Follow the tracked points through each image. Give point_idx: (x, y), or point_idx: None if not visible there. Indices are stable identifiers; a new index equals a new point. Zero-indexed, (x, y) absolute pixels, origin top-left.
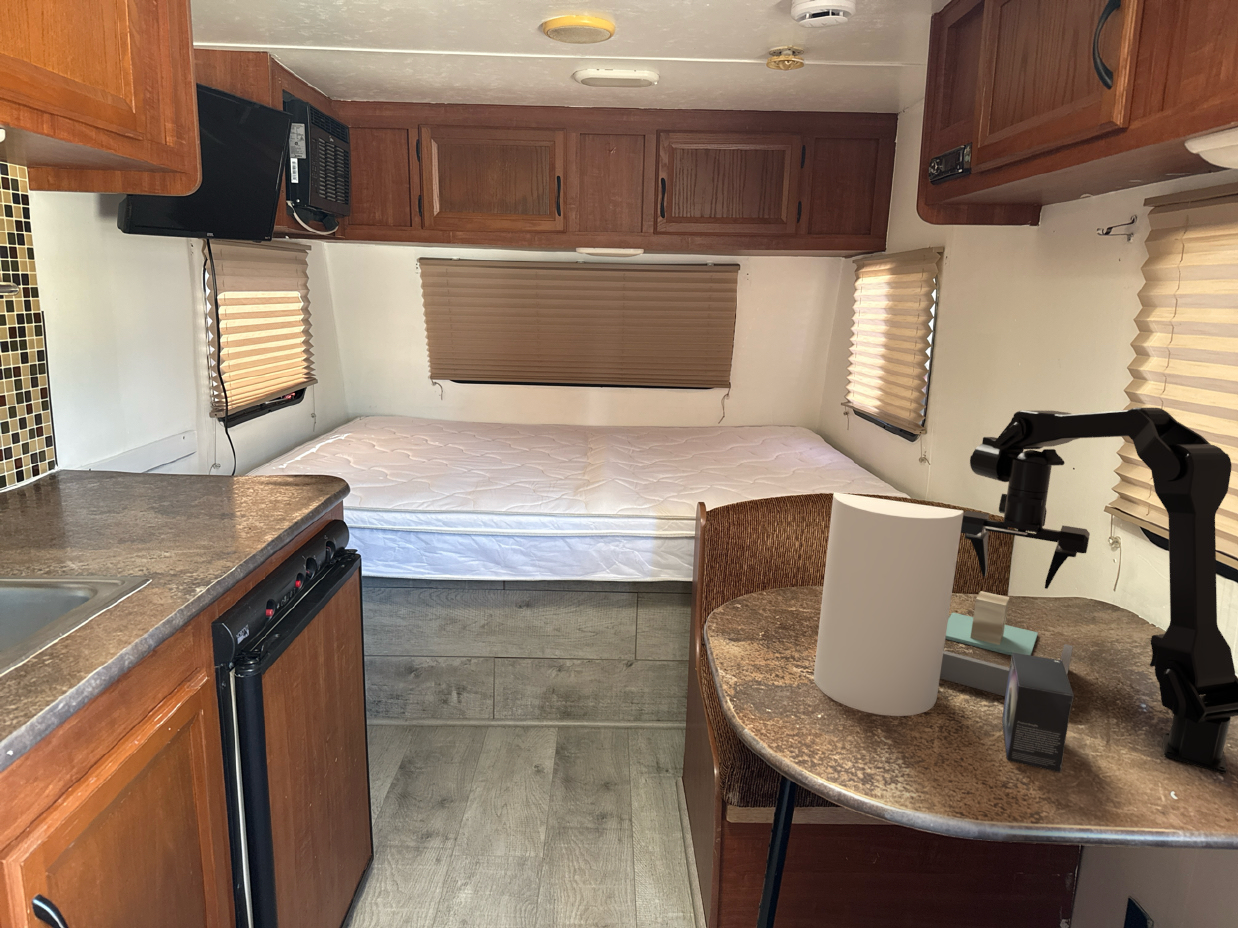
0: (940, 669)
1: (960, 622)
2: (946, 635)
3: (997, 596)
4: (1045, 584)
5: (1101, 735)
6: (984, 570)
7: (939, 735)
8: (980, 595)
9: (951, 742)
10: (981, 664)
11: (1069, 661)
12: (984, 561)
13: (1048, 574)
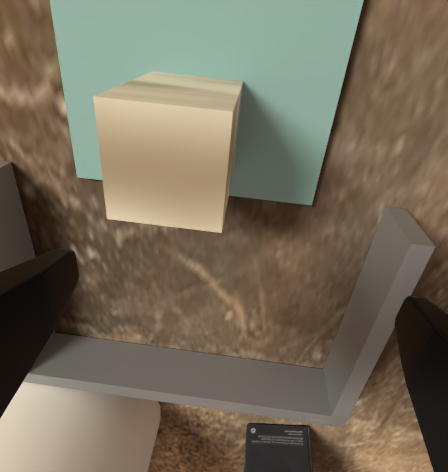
0: (146, 462)
1: (97, 27)
2: (97, 178)
3: (178, 135)
4: (400, 349)
5: (380, 412)
6: (55, 319)
7: (182, 458)
8: (110, 167)
9: (196, 464)
10: (201, 405)
11: (386, 341)
12: (15, 388)
13: (428, 442)
